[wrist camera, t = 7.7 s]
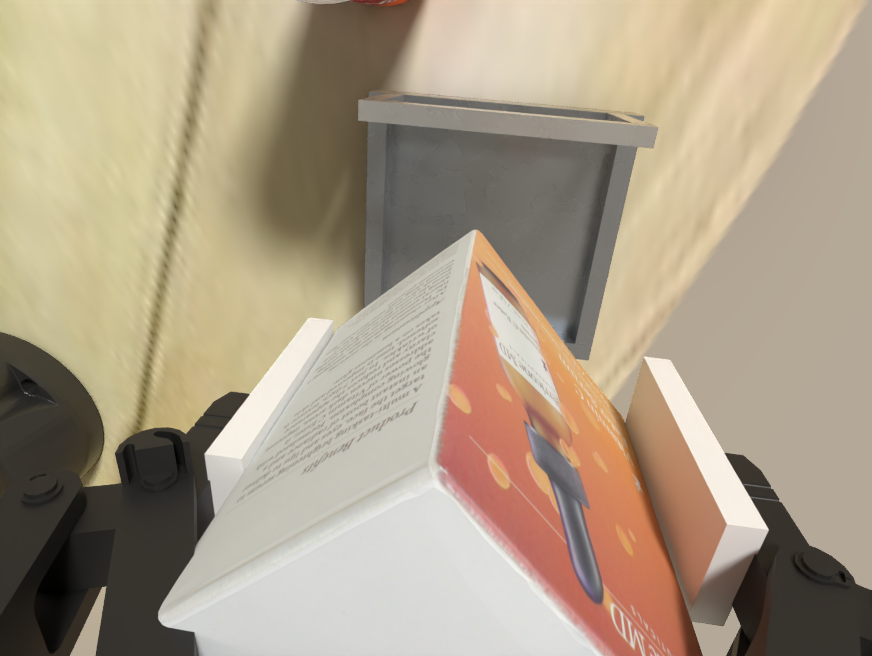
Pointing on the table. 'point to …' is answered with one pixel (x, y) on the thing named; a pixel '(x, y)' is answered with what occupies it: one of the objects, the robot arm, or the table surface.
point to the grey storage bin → (501, 194)
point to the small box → (439, 496)
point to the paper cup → (373, 0)
